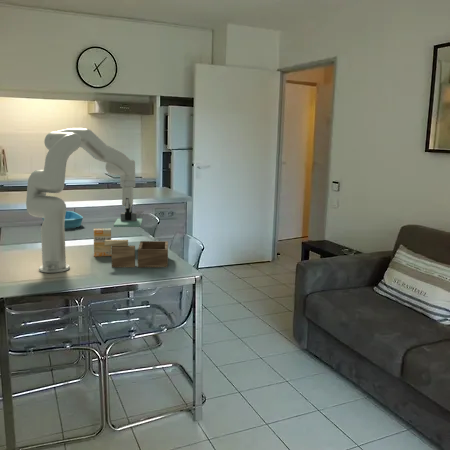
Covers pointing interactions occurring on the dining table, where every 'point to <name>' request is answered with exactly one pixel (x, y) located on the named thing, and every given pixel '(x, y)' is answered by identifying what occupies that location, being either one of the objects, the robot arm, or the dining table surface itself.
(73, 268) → the dining table surface
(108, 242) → the tan wooden bar
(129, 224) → the lid
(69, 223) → the casserole dish
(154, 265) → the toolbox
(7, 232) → the dining table surface
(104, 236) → the supplement box
